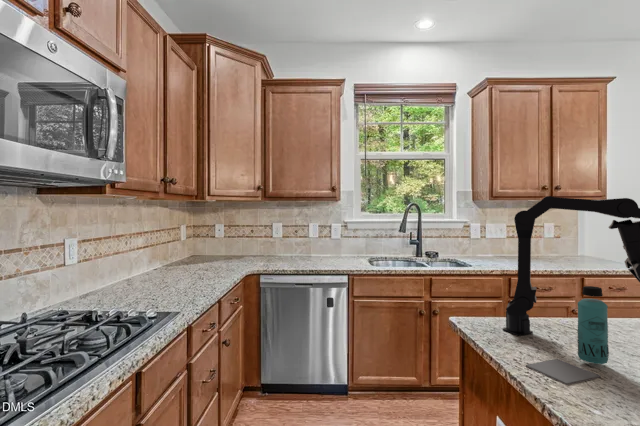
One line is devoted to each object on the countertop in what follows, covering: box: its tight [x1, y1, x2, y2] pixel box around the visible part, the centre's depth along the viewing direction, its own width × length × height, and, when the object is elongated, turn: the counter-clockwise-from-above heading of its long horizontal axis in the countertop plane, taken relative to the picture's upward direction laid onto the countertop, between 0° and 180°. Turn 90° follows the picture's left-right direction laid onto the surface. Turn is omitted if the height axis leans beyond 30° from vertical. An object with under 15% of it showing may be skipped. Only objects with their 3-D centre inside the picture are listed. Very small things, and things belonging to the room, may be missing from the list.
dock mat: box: [525, 358, 602, 386], centre depth 91 cm, size 11×11×1 cm
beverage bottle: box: [576, 285, 610, 365], centre depth 94 cm, size 6×7×20 cm
